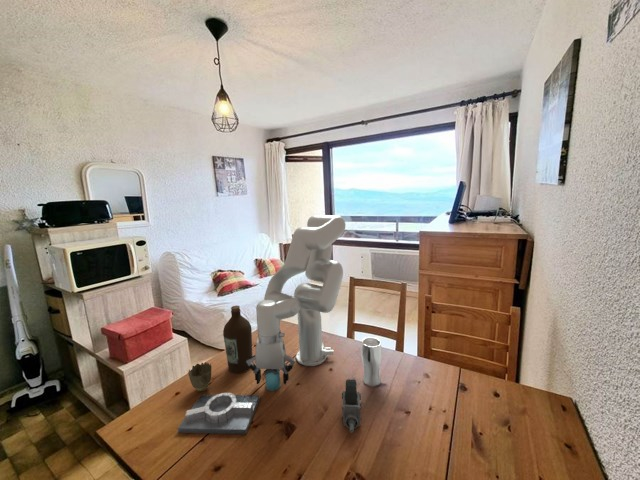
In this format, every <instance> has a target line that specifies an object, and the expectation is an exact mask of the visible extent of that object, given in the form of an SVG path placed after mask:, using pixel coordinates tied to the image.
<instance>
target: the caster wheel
mask: <svg viewBox="0 0 640 480" xmlns="http://www.w3.org/2000/svg"><path fill="white" fill-rule="evenodd" d="M341 399H342V406H341V408H342V417H341V418H342V424H343V426H344V427H347V428H348V429H349V433H350V434H353V433H354V432H355V429H357V428H359V427H360V426H361V424H362V423H361V421H362V417H361V409H362V407H361V400H362V397H361V392H360V391H357V380H356V379H351V378H350V379H349V378H348V379H346V380H345V391H344V390H343V391H342V392H341Z"/></svg>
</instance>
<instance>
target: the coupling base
mask: <svg viewBox="0 0 640 480" xmlns="http://www.w3.org/2000/svg"><path fill="white" fill-rule="evenodd" d="M259 402H260V395H259V394H258V395H255V394H253V395H251V394H250V395H249V394H234V393H232V392H221V393H218V394H200V396H199V397H198V398H197V399H196V401H195V403H194V404H193V405H192V407H191V409H188V410H186V412H185V417H184V419H183V420H182V421H181V423H180V424H179V426H177V433H178V434H214V435H215V434H218V435H220V434H221V435H223V434H224V435H247V433H248V431H249V429H250V425H251V423H252V421H253V418H254V415H255V413H256V410H257V407H258V405H259Z"/></svg>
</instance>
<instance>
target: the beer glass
mask: <svg viewBox="0 0 640 480" xmlns="http://www.w3.org/2000/svg"><path fill="white" fill-rule="evenodd" d="M382 358H383V357H382V341H381V340H380V339H379V338H377V337H374V336H366V337H364V338H362V340H361V361H362V365H363V377H362V381H363V383H364V384H365V385H366V386H369V387H377V386H379V385H380V384H381V378H380V370H381V363H382Z"/></svg>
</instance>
